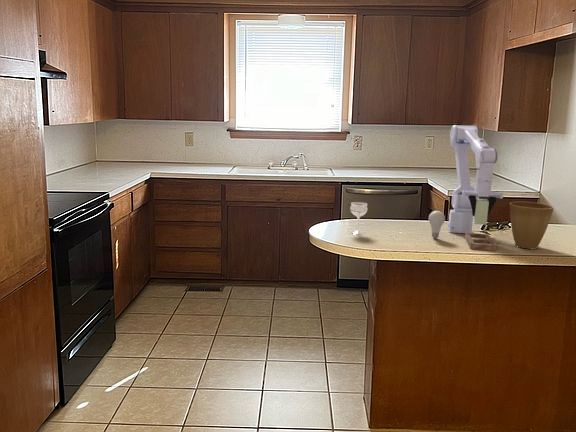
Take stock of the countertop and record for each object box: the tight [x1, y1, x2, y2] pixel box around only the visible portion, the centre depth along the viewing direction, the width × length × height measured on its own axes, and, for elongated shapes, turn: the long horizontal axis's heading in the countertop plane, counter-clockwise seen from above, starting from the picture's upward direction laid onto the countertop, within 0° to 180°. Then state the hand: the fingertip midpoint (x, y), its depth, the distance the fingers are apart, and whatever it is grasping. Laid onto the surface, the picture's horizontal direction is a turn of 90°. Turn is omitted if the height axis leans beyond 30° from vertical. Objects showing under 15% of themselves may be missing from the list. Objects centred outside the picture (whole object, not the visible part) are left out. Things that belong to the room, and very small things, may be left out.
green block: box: [473, 198, 489, 226], centre depth 210 cm, size 4×4×9 cm
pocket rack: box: [464, 232, 497, 252], centre depth 208 cm, size 9×17×2 cm, turn 169°
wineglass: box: [349, 201, 368, 235], centre depth 219 cm, size 7×7×12 cm
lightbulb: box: [428, 210, 446, 239], centre depth 214 cm, size 6×6×11 cm
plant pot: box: [509, 201, 554, 250], centre depth 205 cm, size 15×15×16 cm
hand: (480, 215), depth 211 cm, fingers closed on green block, 4 cm apart
